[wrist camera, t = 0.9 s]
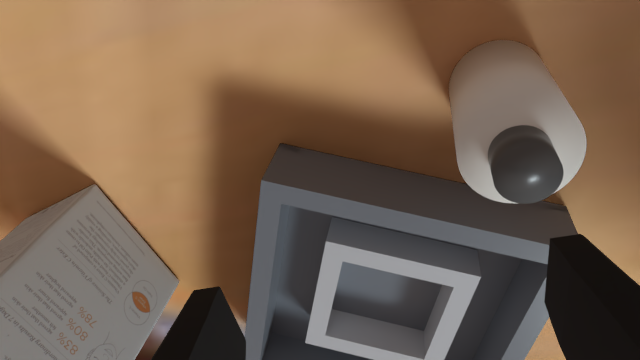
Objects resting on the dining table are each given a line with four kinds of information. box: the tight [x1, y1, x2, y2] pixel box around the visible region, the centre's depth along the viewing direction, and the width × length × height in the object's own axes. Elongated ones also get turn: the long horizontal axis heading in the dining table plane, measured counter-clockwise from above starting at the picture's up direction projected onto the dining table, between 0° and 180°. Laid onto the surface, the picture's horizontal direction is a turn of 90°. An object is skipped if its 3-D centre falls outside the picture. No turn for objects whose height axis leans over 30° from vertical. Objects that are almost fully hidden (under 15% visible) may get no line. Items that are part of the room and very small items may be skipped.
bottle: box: [449, 40, 587, 204], centre depth 18 cm, size 4×4×8 cm
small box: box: [0, 184, 179, 360], centre depth 25 cm, size 8×6×13 cm
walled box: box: [245, 143, 578, 360], centre depth 27 cm, size 14×14×4 cm
